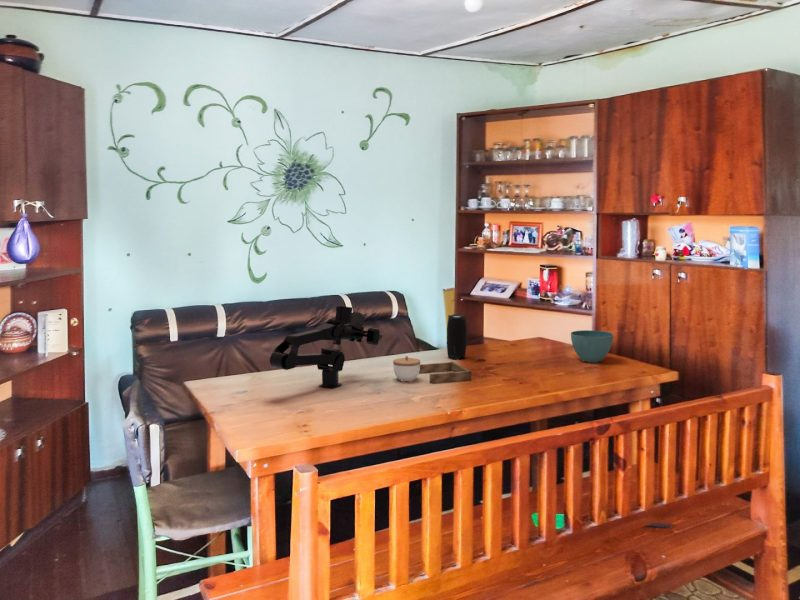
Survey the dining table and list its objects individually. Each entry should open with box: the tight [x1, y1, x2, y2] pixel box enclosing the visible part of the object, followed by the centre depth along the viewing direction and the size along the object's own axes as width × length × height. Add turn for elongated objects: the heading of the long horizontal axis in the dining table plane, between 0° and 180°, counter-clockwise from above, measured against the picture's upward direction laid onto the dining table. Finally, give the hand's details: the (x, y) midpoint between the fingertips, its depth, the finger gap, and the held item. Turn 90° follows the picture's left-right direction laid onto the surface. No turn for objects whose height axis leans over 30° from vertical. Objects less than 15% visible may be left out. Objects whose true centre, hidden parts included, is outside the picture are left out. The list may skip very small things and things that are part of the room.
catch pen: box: [419, 361, 472, 384], centre depth 288 cm, size 17×18×4 cm
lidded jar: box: [392, 355, 421, 382], centre depth 282 cm, size 11×11×9 cm
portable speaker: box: [446, 313, 468, 361], centre depth 322 cm, size 9×9×20 cm
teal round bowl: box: [570, 329, 614, 363], centre depth 317 cm, size 18×18×12 cm
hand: (373, 335), depth 290 cm, fingers open, 9 cm apart
